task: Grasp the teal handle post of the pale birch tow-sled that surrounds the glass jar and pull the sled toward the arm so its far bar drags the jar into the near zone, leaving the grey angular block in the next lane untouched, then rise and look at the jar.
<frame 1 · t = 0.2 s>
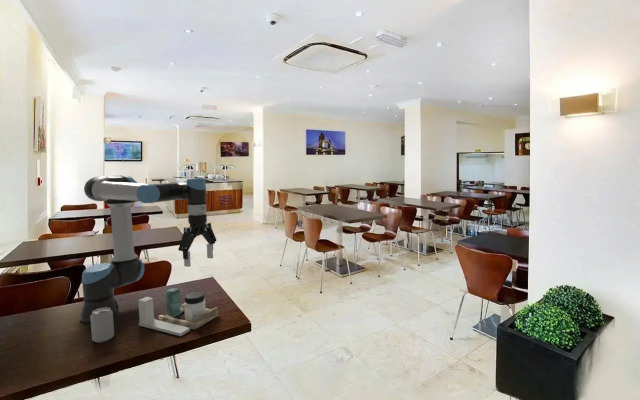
hand: (199, 262, 144), 27 cm above the table, fingers open, 13 cm apart
jar: (195, 321, 148), resting in sled
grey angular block: (163, 315, 140), point 6 cm above the table, slide at 0.0 cm
can: (103, 339, 132), on the table
sled: (187, 305, 149), point 6 cm above the table, slide at 0.0 cm
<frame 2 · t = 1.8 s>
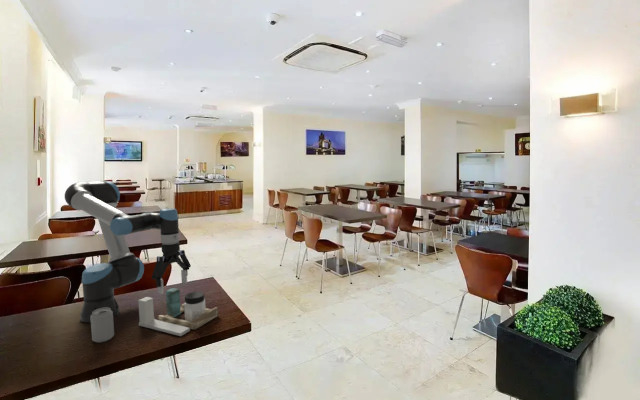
hand: (173, 288, 151), 13 cm above the table, fingers open, 13 cm apart
nothing on the table moved.
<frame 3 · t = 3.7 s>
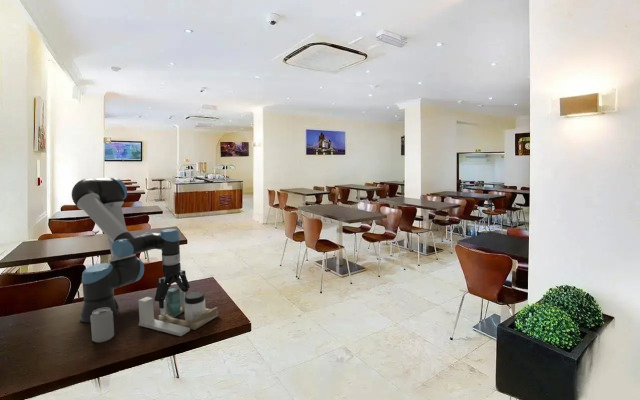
hand: (173, 309, 152), 3 cm above the table, fingers closed on sled, 11 cm apart
sled: (187, 305, 149), point 6 cm above the table, slide at 0.0 cm, touching gripper
everything else where it was.
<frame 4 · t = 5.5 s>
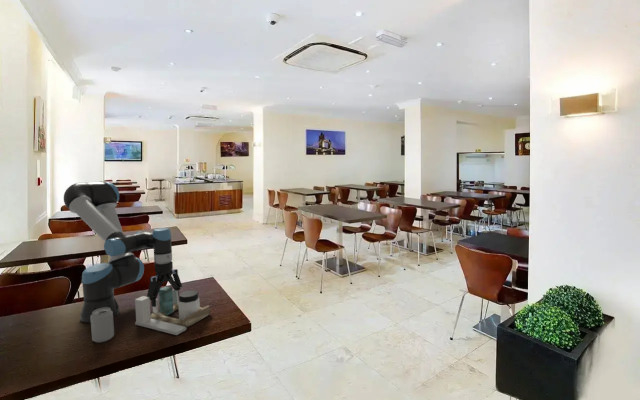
hand: (166, 307, 154), 3 cm above the table, fingers closed on sled, 11 cm apart
jar: (189, 319, 149), resting in sled
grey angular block: (159, 314, 141), point 6 cm above the table, slide at 2.1 cm
sled: (180, 303, 150), point 6 cm above the table, slide at 4.6 cm, touching gripper
everything else where it was.
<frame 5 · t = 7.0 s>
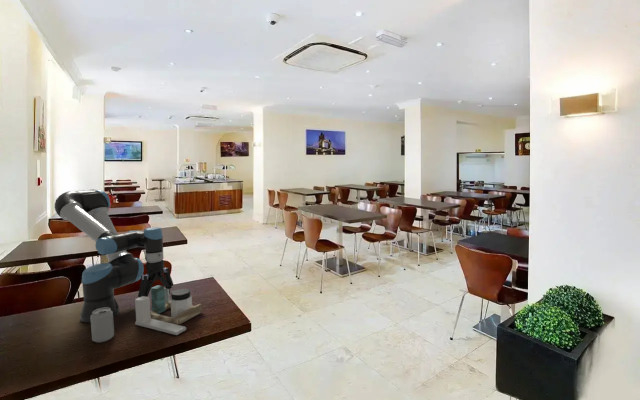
hand: (157, 306, 156), 3 cm above the table, fingers open, 10 cm apart
jar: (182, 317, 152), resting in sled
sled: (171, 302, 152), point 6 cm above the table, slide at 9.6 cm, touching gripper
everything else where it was.
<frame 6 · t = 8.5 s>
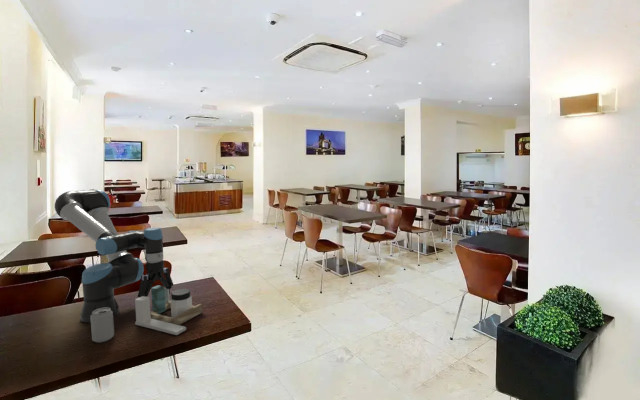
hand: (157, 306, 157), 3 cm above the table, fingers closed on sled, 11 cm apart
sled: (172, 302, 152), point 6 cm above the table, slide at 9.4 cm, touching gripper
everything else where it was.
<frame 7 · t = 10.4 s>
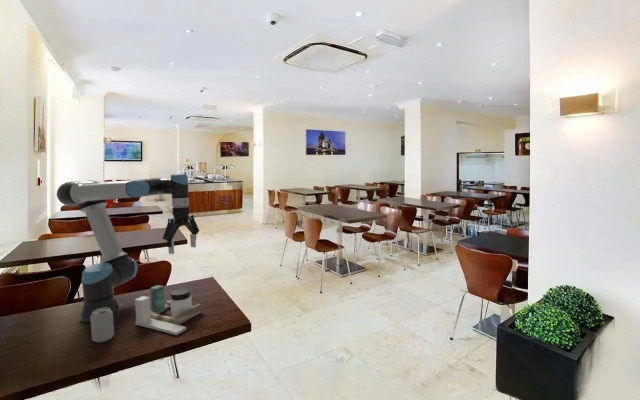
hand: (182, 250, 159), 29 cm above the table, fingers open, 13 cm apart
sled: (171, 302, 153), point 6 cm above the table, slide at 9.8 cm
everything else where it was.
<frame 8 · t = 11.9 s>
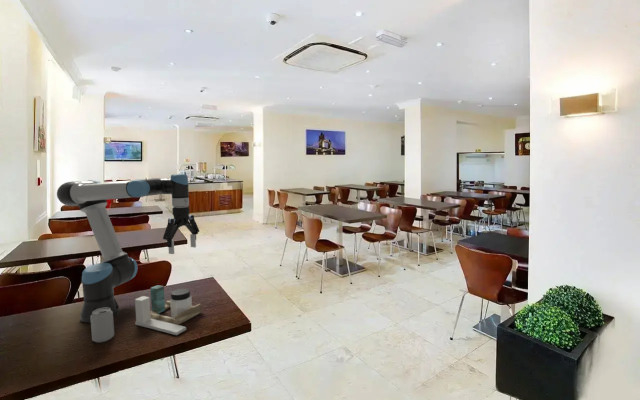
hand: (182, 250, 159), 29 cm above the table, fingers open, 13 cm apart
nothing on the table moved.
at the end: sled slide at 9.8 cm; jar inside the target area (0.8 cm from its centre), resting in sled; jar tilted 0° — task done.
